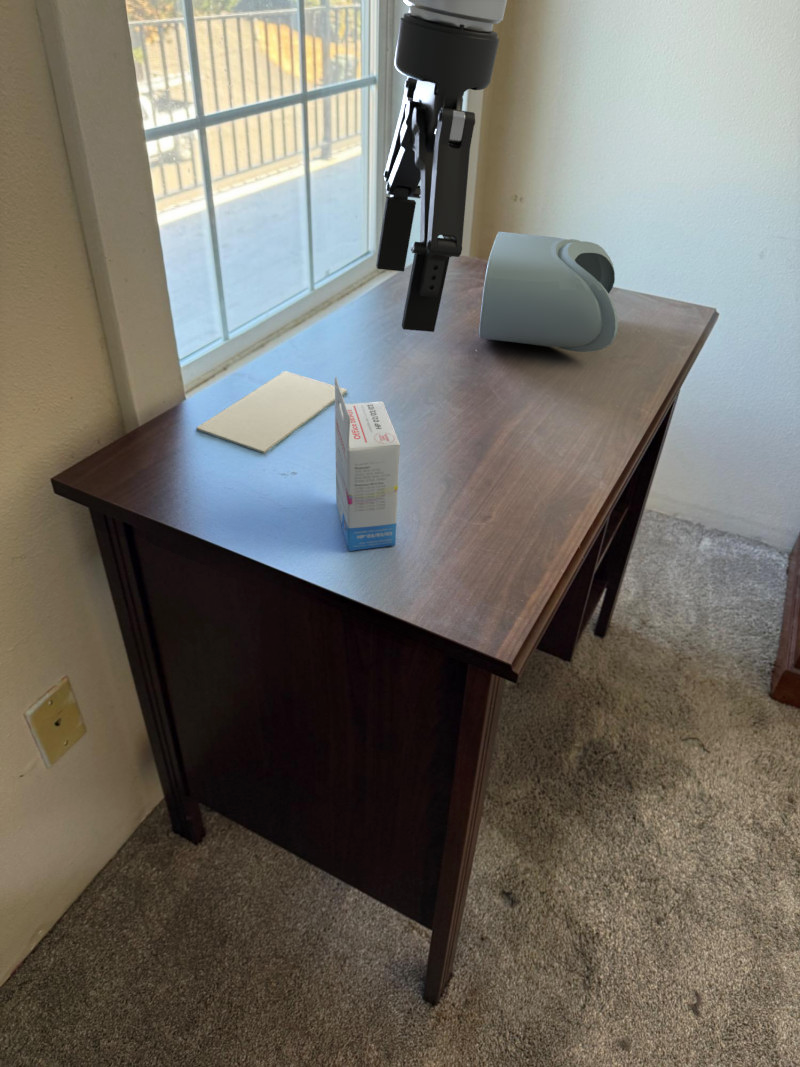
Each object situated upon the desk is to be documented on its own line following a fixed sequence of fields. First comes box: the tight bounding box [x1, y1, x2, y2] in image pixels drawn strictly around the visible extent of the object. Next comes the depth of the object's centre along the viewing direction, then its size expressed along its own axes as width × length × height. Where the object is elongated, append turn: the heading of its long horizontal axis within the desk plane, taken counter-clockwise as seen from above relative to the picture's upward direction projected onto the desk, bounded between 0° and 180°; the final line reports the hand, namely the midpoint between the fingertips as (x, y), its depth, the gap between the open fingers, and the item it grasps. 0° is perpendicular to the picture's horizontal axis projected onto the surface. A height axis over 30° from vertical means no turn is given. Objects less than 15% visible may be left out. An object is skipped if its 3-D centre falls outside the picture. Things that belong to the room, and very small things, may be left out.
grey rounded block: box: [478, 231, 619, 353], centre depth 111 cm, size 22×19×13 cm
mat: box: [195, 370, 348, 454], centre depth 93 cm, size 18×10×1 cm, turn 151°
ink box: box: [334, 376, 401, 552], centre depth 71 cm, size 8×5×15 cm, turn 13°
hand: (402, 297), depth 68 cm, fingers open, 13 cm apart
